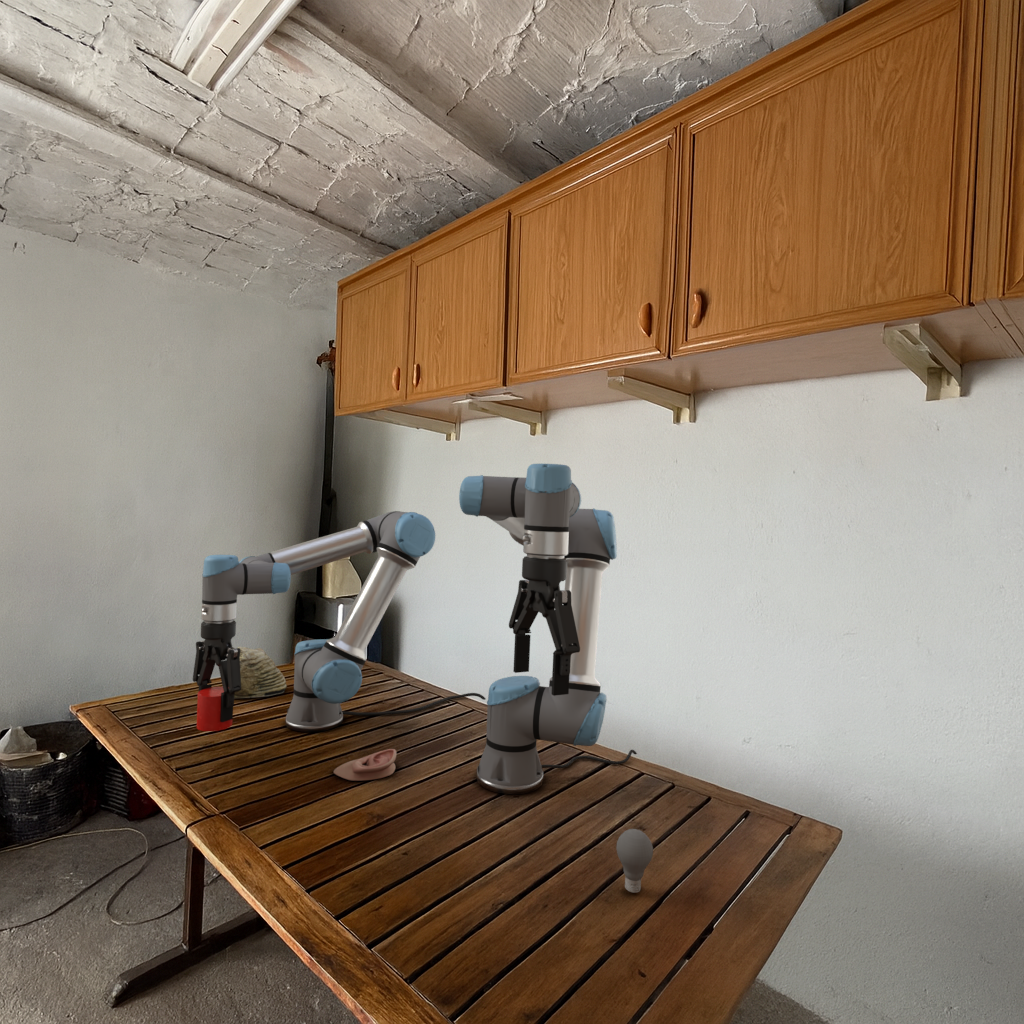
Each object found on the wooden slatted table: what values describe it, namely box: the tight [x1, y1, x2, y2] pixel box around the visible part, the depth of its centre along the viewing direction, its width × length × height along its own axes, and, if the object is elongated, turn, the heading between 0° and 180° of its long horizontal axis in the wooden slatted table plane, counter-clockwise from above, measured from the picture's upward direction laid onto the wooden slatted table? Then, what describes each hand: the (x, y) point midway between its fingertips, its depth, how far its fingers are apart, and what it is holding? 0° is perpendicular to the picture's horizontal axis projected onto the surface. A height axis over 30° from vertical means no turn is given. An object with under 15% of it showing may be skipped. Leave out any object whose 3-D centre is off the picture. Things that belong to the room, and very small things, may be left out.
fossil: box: [234, 646, 288, 699], centre depth 198 cm, size 9×18×15 cm, turn 132°
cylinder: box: [196, 686, 234, 732], centre depth 150 cm, size 8×8×8 cm
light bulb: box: [615, 828, 654, 894], centre depth 106 cm, size 6×6×10 cm
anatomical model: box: [333, 748, 397, 782], centre depth 147 cm, size 13×4×12 cm
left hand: (215, 716), depth 150 cm, fingers closed on cylinder, 8 cm apart
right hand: (539, 682), depth 106 cm, fingers open, 13 cm apart
